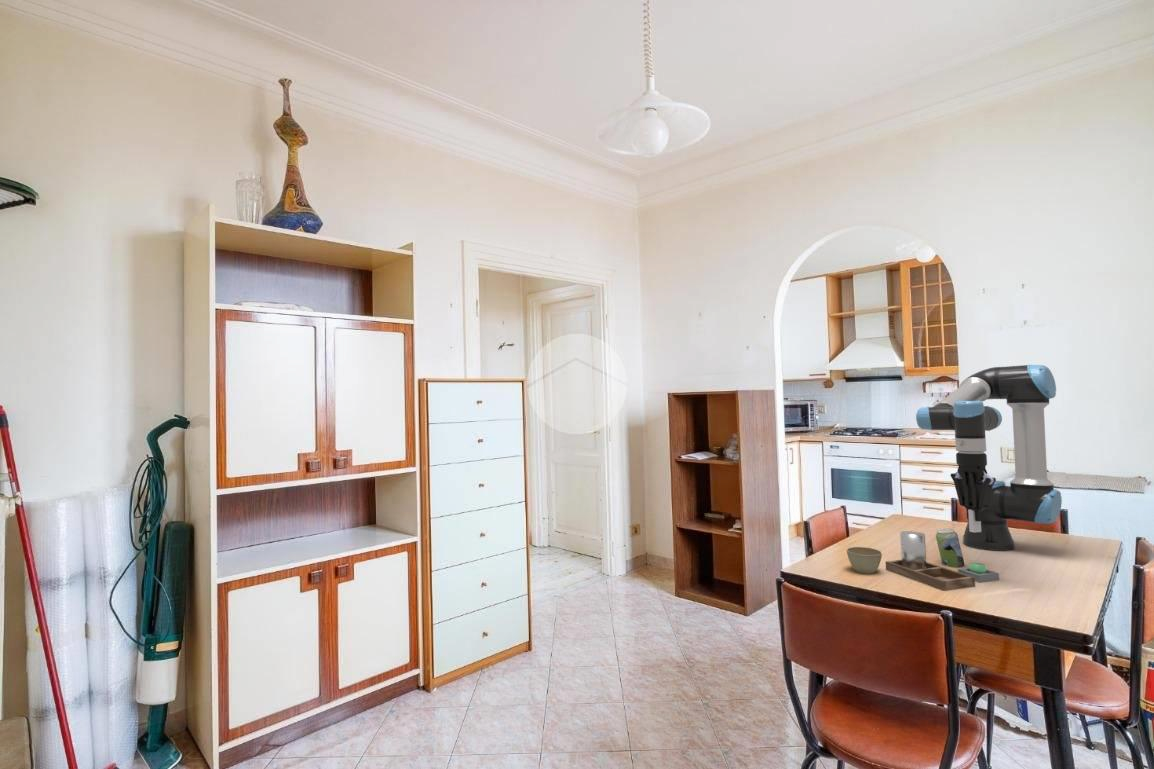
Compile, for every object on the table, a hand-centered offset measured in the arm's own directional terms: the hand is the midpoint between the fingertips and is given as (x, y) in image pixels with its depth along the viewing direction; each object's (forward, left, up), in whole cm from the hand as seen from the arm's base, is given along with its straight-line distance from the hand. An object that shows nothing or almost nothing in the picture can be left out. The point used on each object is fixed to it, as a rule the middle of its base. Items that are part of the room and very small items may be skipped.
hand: (975, 531), depth 166 cm
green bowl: (+25, -17, -15) cm, 34 cm away
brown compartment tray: (+13, -5, -15) cm, 20 cm away
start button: (0, 0, -13) cm, 13 cm away
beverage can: (-4, -13, -15) cm, 20 cm away
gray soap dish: (0, 0, -15) cm, 15 cm away
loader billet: (+13, -10, -14) cm, 21 cm away
